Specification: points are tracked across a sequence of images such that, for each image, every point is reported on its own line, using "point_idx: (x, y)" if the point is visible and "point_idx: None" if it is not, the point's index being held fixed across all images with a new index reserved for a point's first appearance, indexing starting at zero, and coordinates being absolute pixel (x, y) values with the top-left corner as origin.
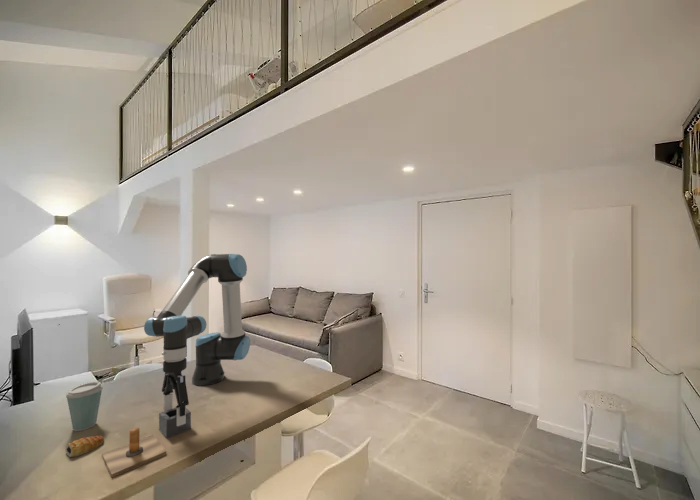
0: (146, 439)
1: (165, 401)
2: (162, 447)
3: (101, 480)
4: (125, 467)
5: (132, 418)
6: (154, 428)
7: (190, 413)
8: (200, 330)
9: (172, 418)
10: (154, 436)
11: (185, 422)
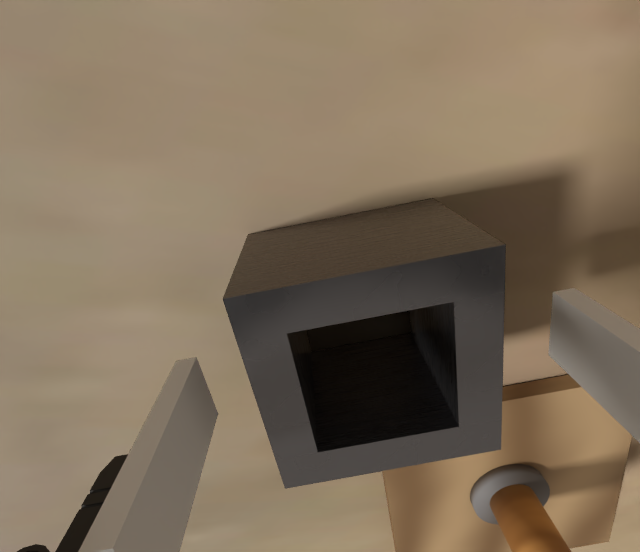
0: None
1: (182, 524)
2: (583, 389)
3: None
4: (609, 510)
5: (8, 495)
6: (247, 401)
7: (498, 242)
8: None
9: (499, 409)
10: None
11: (579, 293)
